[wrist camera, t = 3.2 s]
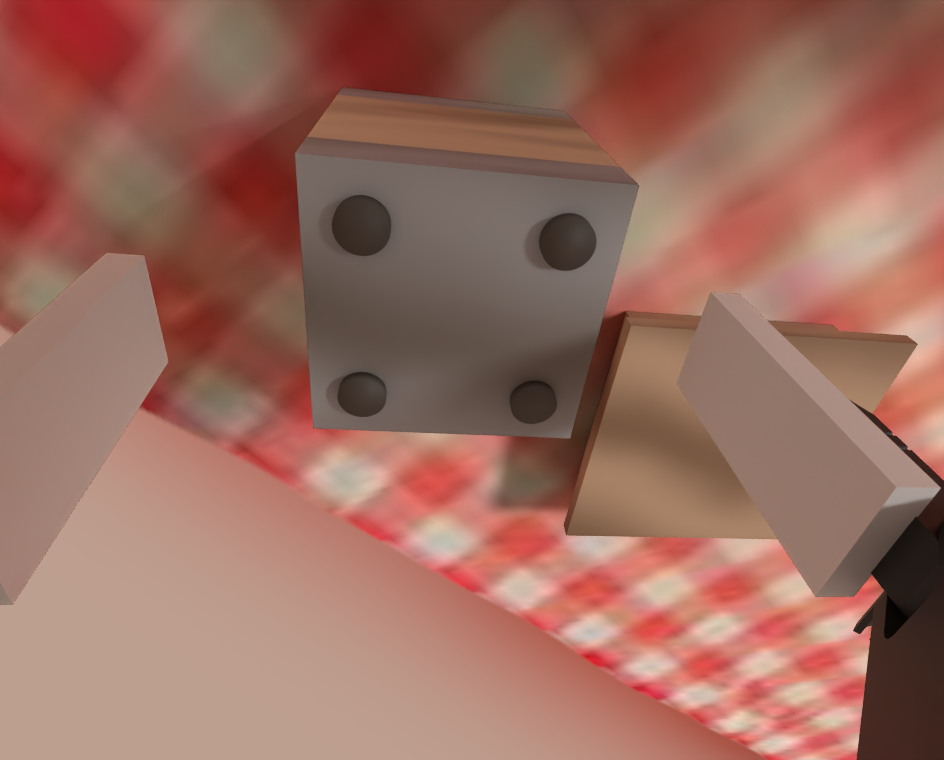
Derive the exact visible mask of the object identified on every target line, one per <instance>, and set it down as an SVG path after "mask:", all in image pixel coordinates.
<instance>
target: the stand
mask: <svg viewBox="0 0 944 760" xmlns="http://www.w3.org/2000/svg"><path fill="white" fill-rule="evenodd" d="M701 317H702V316H689V315H674V314H659V313H644V312H629V311H626V314H625V317H624V321H623V324H622V327H621V331H620V334H619V338H618V341H617V344H616V348H615V351H614V354H613V358H612V361H611V364H610V368H609V371H608V374H607V378H606V381H605V384H604V388H603V391H602V394H601V398H600V401H599V404H598V408H597V411H596V414H595V418H594V421H593V424H592V428H591V431H590V435H589V438H588V441H587V445H586V448H585V451H584V455H583V458H582V461H581V465H580V468H579V471H578V475H579V476H578V479H577V482H576V486H575V489H574V492H573V496H572V499H571V502H570V506H569V509H568V512H567V516H566V519H565V522H564V528H565V532H566V535H576V536H630V537H685V538H739V539H777V537H776V536H775V534H774V533H773V531H772V530H771V528H770V526H769V525H768V523H767V522H766V520H765V519H764V517H763V516H762V514H761V513H760V511H759V510H758V508H757V507H756V505H755V503H754V502H753V500H752V499H751V497H750V496H749V494H748V493H747V491H746V490H745V488H744V487H743V485H742V484H741V482H740V480H739V479H738V477H737V476H736V474H735V473H734V471H733V470H732V468H731V467H730V465H729V464H728V462H727V461H726V459H725V457H724V456H723V454H722V453H721V451H720V450H719V448H718V447H717V445H716V444H715V442H714V441H713V439H712V437H711V436H710V434H709V433H708V431H707V430H706V428H705V427H704V425H703V424H702V422H701V421H700V419H699V418H698V416H697V414H696V413H695V411H694V410H693V408H692V407H691V405H690V404H689V402H688V401H687V399H686V398H685V396H684V395H683V393H682V391H681V390H680V388H679V387H678V385H677V384H676V382H677V380H678V377H679V375H680V372H681V369H682V367H683V364H684V361H685V359H686V356H687V353H688V351H689V348H690V346H691V343H692V340H693V338H694V335H695V332H696V330H697V327H698V324H699V322H700V319H701ZM768 322H769V323H770V324H771V325H772V326H773V327H774V328H775V329H776V330H777V331H778V332H780V333H781V334H782V335H783V336H784V337H785V338H786V339H787V340H788V341H789V342H790V343H791V344H792V345H793V346H794V347H795V348H796V349H797V350H798V351H799V352H800V353H801V354H802V355H803V356H804V357H805V358H807V359H808V360H809V361H810V362H811V363H812V364H813V365H814V366H815V367H816V368H817V369H818V370H819V371H820V372H821V373H822V374H823V375H824V376H825V377H826V378H827V379H828V380H829V381H830V382H831V383H832V384H834V385H835V386H836V387H837V388H838V389H839V390H840V391H841V392H842V393H843V394H844V395H845V396H846V397H847V398H848V399H849V400H851V401H853V402H854V403H856V404H857V405H859V406H861V407H862V408H864V409H865V410H867V411H869V412H870V413H873V412H874V410H875V409H876V407H877V406H878V404H879V403H880V401H881V400H882V398H883V396H884V395H885V393H886V392H887V390H888V389H889V387H890V386H891V384H892V383H893V381H894V380H895V378H896V377H897V375H898V374H899V372H900V371H901V369H902V367H903V366H904V364H905V363H906V361H907V360H908V358H909V357H910V355H911V354H912V352H913V351H914V349H915V348H916V346H917V345H918V344H917V343H916V342H914V341H913V340H912V339H910V338H909V337H908V336H904V335H889V334H874V333H858V332H843V331H839V330H838V329H837V328H836V327H834V326H833V325H824V324H809V323H794V322H779V321H768Z"/></svg>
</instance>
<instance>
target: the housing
mask: <svg viewBox="0 0 944 760" xmlns="http://www.w3.org/2000/svg"><path fill="white" fill-rule="evenodd" d="M295 163H296V178H297V193H298V208H299V223H300V238H301V253H302V268H303V283H304V298H305V313H306V328H307V343H308V358H309V373H310V388H311V404H312V419H313V428H316V429H341V430H367V431H393V432H419V433H445V434H471V435H497V436H522V437H548V438H570V437H571V433H572V429H573V426H574V422H575V418H576V415H577V411H578V408H579V404H580V400H581V397H582V393H583V389H584V386H585V382H586V378H587V375H588V371H589V367H590V364H591V360H592V356H593V353H594V349H595V345H596V342H597V338H598V334H599V331H600V327H601V323H602V320H603V316H604V312H605V309H606V305H607V301H608V298H609V294H610V290H611V287H612V283H613V279H614V276H615V272H616V268H617V265H618V261H619V257H620V254H621V250H622V246H623V243H624V239H625V235H626V232H627V228H628V224H629V221H630V217H631V213H632V210H633V206H634V202H635V199H636V195H637V191H638V188H639V185H638V184H637V183H636V182H635V181H634V180H633V179H632V178H631V177H630V176H629V175H628V174H627V173H626V172H625V171H624V170H623V169H622V168H621V167H620V166H619V165H618V164H617V163H616V162H615V161H614V160H613V159H612V158H611V157H610V156H609V155H608V154H607V153H606V152H605V151H604V150H603V149H602V148H601V147H600V146H599V145H598V144H597V143H596V142H595V141H594V140H593V139H592V138H591V137H590V136H589V135H588V134H587V133H586V132H585V131H584V130H583V129H582V128H581V127H580V126H579V125H578V124H577V123H576V122H575V121H574V120H573V119H572V118H571V117H570V116H569V115H568V114H567V113H566V112H565V111H560V110H551V109H541V108H532V107H523V106H514V105H504V104H495V103H486V102H476V101H467V100H458V99H449V98H439V97H430V96H421V95H411V94H402V93H393V92H383V91H374V90H365V89H356V88H346V87H342V89H341V90H340V91H339V93H338V94H337V96H336V97H335V98H334V100H333V101H332V103H331V104H330V105H329V107H328V108H327V109H326V111H325V112H324V114H323V115H322V116H321V118H320V119H319V121H318V122H317V123H316V125H315V126H314V127H313V129H312V130H311V132H310V133H309V134H308V136H307V137H306V139H305V140H304V141H303V143H302V144H301V145H300V147H299V148H298V150H297V151H296V152H295Z"/></svg>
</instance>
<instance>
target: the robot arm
mask: <svg viewBox="0 0 944 760" xmlns="http://www.w3.org/2000/svg"><path fill="white" fill-rule="evenodd" d="M167 363H168V357H167V353H166V349H165V344H164V340H163V335H162V331H161V327H160V322H159V318H158V314H157V309H156V305H155V300H154V296H153V292H152V287H151V283H150V279H149V274H148V270H147V265H146V261H145V257H144V255H132V254H117V253H105V254H104V255H103V256H102V257H101V258H100V259H99V260H98V261H96V262H95V263H94V264H93V265H92V266H91V267H90V268H89V269H88V270H86V271H85V272H84V273H83V274H82V275H81V276H80V277H79V278H77V279H76V280H75V281H74V282H73V283H72V284H71V285H70V286H68V287H67V288H66V289H65V290H64V291H63V292H62V293H61V294H59V295H58V296H57V297H56V298H55V299H54V300H53V301H52V302H50V303H49V304H48V305H47V306H46V307H45V308H44V309H43V310H41V311H40V312H39V313H38V314H37V315H36V316H35V317H34V318H32V319H31V320H30V321H29V322H28V323H27V324H26V325H25V326H23V327H22V328H21V329H20V330H19V331H18V332H17V333H16V334H14V335H13V336H12V337H11V338H10V339H9V340H8V341H7V342H6V343H5V344H3V345H2V346H1V347H0V605H13V604H14V602H15V601H16V599H17V598H18V596H19V594H20V593H21V591H22V590H23V588H24V587H25V585H26V584H27V582H28V580H29V579H30V577H31V576H32V574H33V573H34V571H35V570H36V568H37V566H38V565H39V563H40V562H41V560H42V559H43V557H44V555H45V554H46V552H47V551H48V549H49V548H50V546H51V544H52V543H53V541H54V540H55V538H56V537H57V535H58V534H59V532H60V531H61V529H62V527H63V526H64V524H65V523H66V521H67V520H68V518H69V516H70V515H71V513H72V512H73V510H74V509H75V507H76V505H77V504H78V502H79V501H80V499H81V498H82V496H83V495H84V493H85V491H86V490H87V488H88V487H89V485H90V484H91V482H92V480H93V479H94V477H95V476H96V474H97V473H98V471H99V470H100V468H101V466H102V465H103V463H104V462H105V460H106V459H107V457H108V456H109V454H110V452H111V451H112V449H113V448H114V446H115V445H116V443H117V441H118V440H119V438H120V437H121V435H122V433H123V432H124V431H125V429H126V427H127V426H128V424H129V423H130V421H131V420H132V418H133V416H134V415H135V413H136V412H137V410H138V409H139V407H140V406H141V404H142V402H143V401H144V399H145V398H146V396H147V395H148V393H149V391H150V390H151V388H152V387H153V385H154V384H155V382H156V381H157V379H158V377H159V376H160V374H161V373H162V371H163V370H164V368H165V366H166V365H167ZM676 384H677V385H678V387H679V388H680V390H681V391H682V393H683V395H684V396H685V398H686V399H687V401H688V402H689V404H690V405H691V407H692V408H693V410H694V411H695V413H696V414H697V416H698V418H699V419H700V421H701V422H702V424H703V425H704V427H705V428H706V430H707V431H708V433H709V434H710V436H711V437H712V439H713V441H714V442H715V444H716V445H717V447H718V448H719V450H720V451H721V453H722V454H723V456H724V457H725V459H726V461H727V462H728V464H729V465H730V467H731V468H732V470H733V471H734V473H735V474H736V476H737V477H738V479H739V480H740V482H741V484H742V485H743V487H744V488H745V490H746V491H747V493H748V494H749V496H750V497H751V499H752V500H753V502H754V503H755V505H756V507H757V508H758V510H759V511H760V513H761V514H762V516H763V517H764V519H765V520H766V522H767V523H768V525H769V526H770V528H771V530H772V531H773V533H774V534H775V536H776V537H777V539H778V540H779V542H780V543H781V545H782V546H783V548H784V549H785V551H786V553H787V554H788V556H789V557H790V559H791V560H792V562H793V563H794V565H795V566H796V568H797V569H798V571H799V572H800V574H801V576H802V577H803V579H804V580H805V582H806V583H807V585H808V586H809V588H810V589H811V591H812V592H813V594H814V595H815V597H854V596H855V595H856V593H857V592H858V591H859V590H860V588H861V587H862V586H863V585H864V583H865V582H866V581H867V580H868V578H869V577H870V576H871V575H873V576H874V578H875V579H876V580H877V581H878V583H879V584H880V585H881V587H882V588H883V589H884V592H883V593H882V594H881V595H880V596H879V598H878V599H877V600H876V601H875V602H874V604H873V605H872V606H871V607H870V608H869V609H868V611H867V612H866V613H865V614H864V615H863V617H862V618H861V619H860V620H859V621H858V623H857V624H856V626H855V628H854V630H853V631H854V632H856V633H858V634H860V633H861V632H862V631H863V630H864V629H865V628H866V627H867V626H872V629H871V638H870V647H869V655H868V664H867V673H866V682H865V691H864V700H863V709H862V717H861V726H860V735H859V744H858V753H857V760H944V480H942V479H941V478H940V477H939V476H938V475H937V474H936V473H935V472H934V471H933V470H932V469H931V468H930V467H929V466H928V465H927V464H926V463H924V462H923V461H922V460H921V459H920V458H919V457H918V456H917V455H916V454H915V453H914V452H913V451H912V450H907V447H908V446H906V445H905V444H904V443H903V442H902V441H901V440H900V439H899V438H898V437H897V436H893V435H892V431H891V430H890V429H888V428H887V427H886V426H885V425H884V424H883V423H882V422H881V421H880V420H879V419H878V418H877V417H876V416H875V415H873V414H872V413H870V412H869V411H867V410H865V409H864V408H862V407H861V406H859V405H857V404H856V403H854V402H853V401H851V400H849V399H848V398H847V397H846V396H845V395H844V394H843V393H842V392H841V391H840V390H839V389H838V388H837V387H836V386H835V385H834V384H832V383H831V382H830V381H829V380H828V379H827V378H826V377H825V376H824V375H823V374H822V373H821V372H820V371H819V370H818V369H817V368H816V367H815V366H814V365H813V364H812V363H811V362H810V361H809V360H808V359H807V358H805V357H804V356H803V355H802V354H801V353H800V352H799V351H798V350H797V349H796V348H795V347H794V346H793V345H792V344H791V343H790V342H789V341H788V340H787V339H786V338H785V337H784V336H783V335H782V334H781V333H780V332H778V331H777V330H776V329H775V328H774V327H773V326H772V325H771V324H770V323H769V322H768V321H767V320H766V319H765V318H764V317H763V316H762V315H761V314H760V313H759V312H758V311H757V310H756V309H755V308H754V307H753V306H751V305H750V304H749V303H748V302H747V301H746V300H745V299H744V298H743V297H742V296H741V295H740V294H731V293H716V292H711V293H710V295H709V298H708V301H707V303H706V306H705V309H704V311H703V314H702V317H701V319H700V322H699V324H698V327H697V330H696V332H695V335H694V338H693V340H692V343H691V346H690V348H689V351H688V353H687V356H686V359H685V361H684V364H683V367H682V369H681V372H680V375H679V377H678V380H677V382H676Z"/></svg>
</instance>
